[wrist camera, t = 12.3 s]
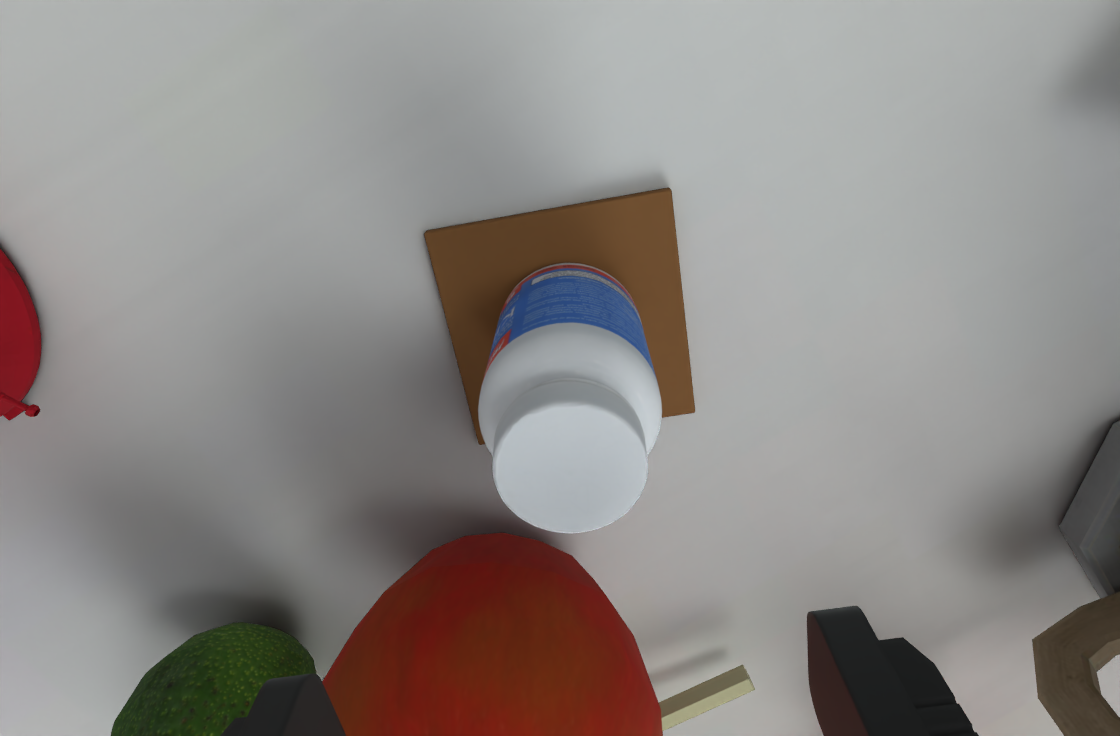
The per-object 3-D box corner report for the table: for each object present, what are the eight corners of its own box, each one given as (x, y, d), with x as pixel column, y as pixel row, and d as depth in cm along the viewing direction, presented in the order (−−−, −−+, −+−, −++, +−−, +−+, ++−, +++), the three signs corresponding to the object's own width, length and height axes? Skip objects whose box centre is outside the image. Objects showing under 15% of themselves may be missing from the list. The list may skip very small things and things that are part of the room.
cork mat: (425, 230, 25) (423, 233, 24) (669, 187, 24) (671, 189, 24) (480, 439, 28) (478, 445, 28) (693, 407, 28) (695, 412, 27)
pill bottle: (492, 262, 25) (451, 373, 16) (639, 256, 25) (680, 364, 16) (504, 395, 27) (474, 557, 18) (639, 390, 27) (674, 551, 18)
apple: (623, 448, 28) (670, 765, 15) (652, 656, 33) (706, 1030, 20) (339, 486, 29) (162, 815, 16) (408, 683, 34) (312, 1057, 21)
